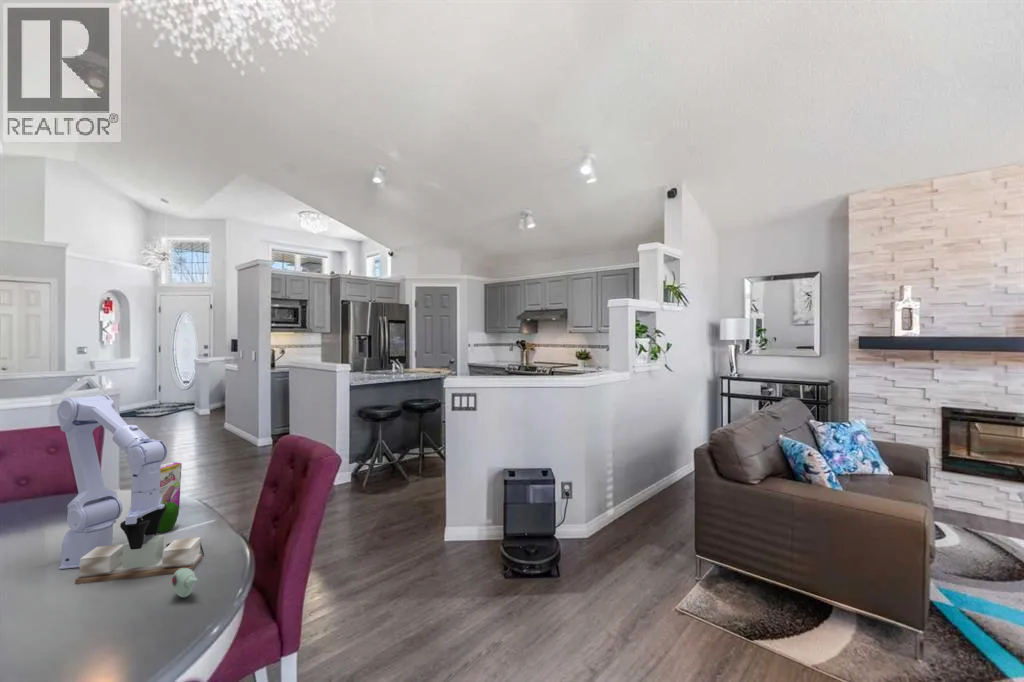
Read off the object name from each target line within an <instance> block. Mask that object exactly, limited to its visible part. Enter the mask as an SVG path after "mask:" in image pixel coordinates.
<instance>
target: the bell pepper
mask: <svg viewBox="0 0 1024 682" xmlns="http://www.w3.org/2000/svg"><path fill="white" fill-rule="evenodd" d="M162 504H165V505H164V506H167V509H166V511H165V513H164V514H163V516H162V519H161V521H160V524H159V528H158V531H157V533H166V532H169V531H171V530H173V529H174V527H175V526H176V523H177V520H178V517H179V514H180V513H179V511H180V506H179V507H178V505H176V504H175V503H174V502H169V503H163V501H162ZM172 528H173V529H172ZM170 529H171V530H170ZM168 530H169V531H168ZM165 531H166V532H165Z"/></svg>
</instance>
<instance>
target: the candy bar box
mask: <svg viewBox="0 0 1024 682" xmlns="http://www.w3.org/2000/svg"><path fill="white" fill-rule="evenodd" d="M182 466H183V465H182V463H181V462H166V463H163V464H162V463H161V471H160V495H159V498H160V497H162V501H163V503H169V502H174V503H175V504H176V505H178V507H179V508H180V504H181V503H180V501H181V499H180V498H181V481H182V480H181V479H182ZM141 518H142V517H141Z"/></svg>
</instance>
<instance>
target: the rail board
mask: <svg viewBox="0 0 1024 682" xmlns="http://www.w3.org/2000/svg"><path fill="white" fill-rule="evenodd" d="M200 542H201V537H189V538H181V539H179V538H178V539H174V540H172V542H170V543H171V544H170V545H169V546H167V547H166V546H165V548H163V558H162V559H161V560H160V561H159V562H158V563H157V564H156V565H154V566H145V567H135V568H126V569H122V561H123V544H124V543H121V544H112V545H110V546H99V547H96V548H95V549H93V550H92V551H90V552H89V553H88V554H86V555H85V556H83V557H82V558H80V567H79V577H78V578H76V579H75V582H74V584H75V585H80V584H81V583H82V584H90V583H100V582H107V581H109V582H110V581H118V580H126V579H136V578H144V577H153V576H154V577H155V576H164V575H174V574H175V572H176V571H177V570H179V569H181V568H188V569H191V570H192V571H193V570H194V569H195V568H194V567H197V566H198V564H199V563H200V562H201V560H202V559H203V558H204V557H203V554H199V553H200ZM202 557H203V558H202ZM201 558H202V559H201ZM199 561H200V562H199ZM198 562H199V563H198ZM82 584H81V585H82Z"/></svg>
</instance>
